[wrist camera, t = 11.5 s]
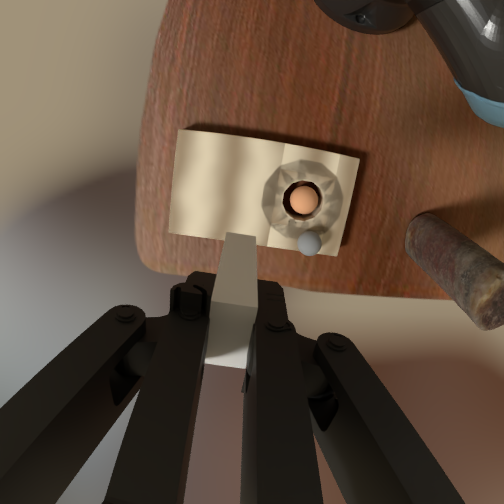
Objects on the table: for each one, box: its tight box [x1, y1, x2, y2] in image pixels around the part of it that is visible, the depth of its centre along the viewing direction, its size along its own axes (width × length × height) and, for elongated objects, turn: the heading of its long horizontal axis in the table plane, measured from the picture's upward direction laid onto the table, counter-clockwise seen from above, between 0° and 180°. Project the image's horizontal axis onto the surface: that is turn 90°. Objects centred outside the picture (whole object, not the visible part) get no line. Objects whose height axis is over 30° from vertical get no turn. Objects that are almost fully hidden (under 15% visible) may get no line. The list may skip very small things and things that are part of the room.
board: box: [169, 129, 360, 256], centre depth 39 cm, size 22×13×2 cm, turn 81°
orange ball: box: [290, 186, 318, 214], centre depth 38 cm, size 4×4×4 cm
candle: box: [405, 213, 504, 330], centre depth 33 cm, size 8×7×20 cm
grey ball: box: [297, 231, 322, 256], centre depth 38 cm, size 3×3×3 cm
